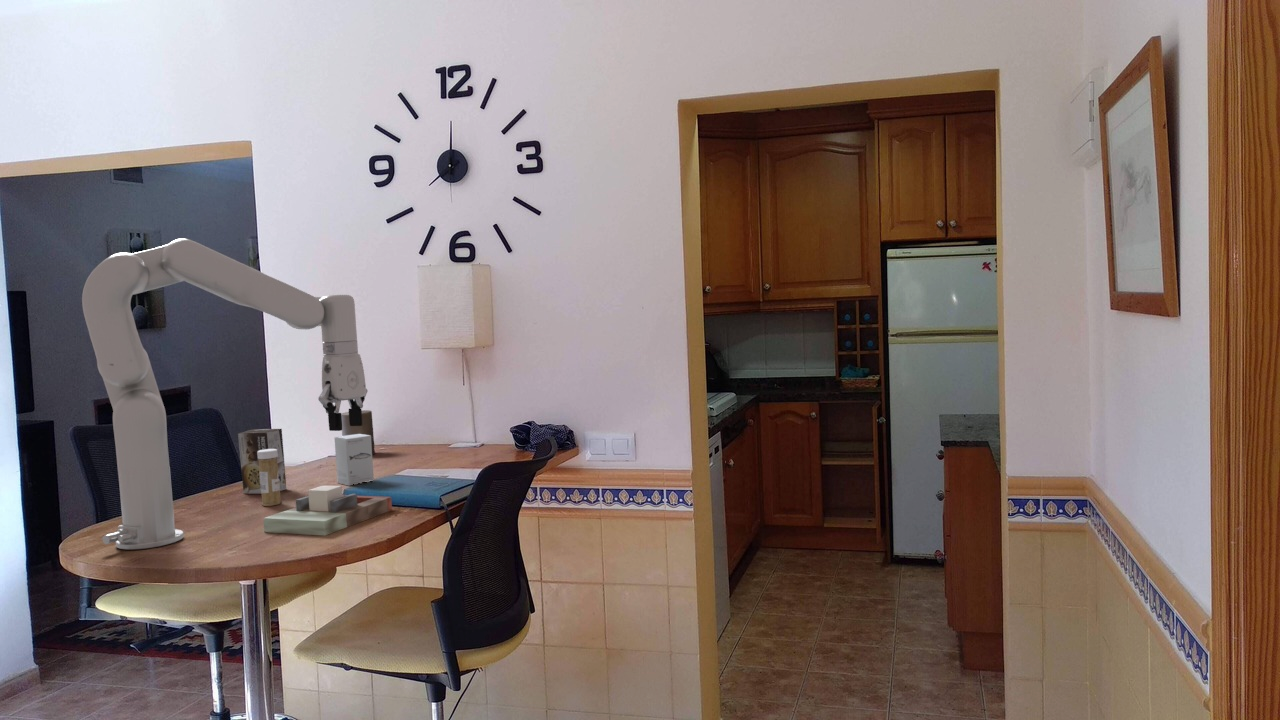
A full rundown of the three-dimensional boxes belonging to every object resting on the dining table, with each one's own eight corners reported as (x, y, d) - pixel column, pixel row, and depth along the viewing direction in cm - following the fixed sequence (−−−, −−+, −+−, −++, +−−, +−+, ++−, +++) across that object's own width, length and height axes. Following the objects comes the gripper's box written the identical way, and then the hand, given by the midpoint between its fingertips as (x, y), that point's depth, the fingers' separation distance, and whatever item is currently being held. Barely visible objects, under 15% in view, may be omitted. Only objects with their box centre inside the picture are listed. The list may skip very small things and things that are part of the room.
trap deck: (325, 535, 196) (323, 509, 195) (264, 531, 201) (262, 506, 201) (391, 509, 217) (390, 486, 217) (335, 507, 223) (333, 484, 222)
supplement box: (348, 486, 248) (345, 438, 247) (336, 483, 254) (333, 436, 253) (374, 481, 253) (371, 435, 252) (362, 478, 258) (359, 432, 258)
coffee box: (287, 489, 249) (283, 428, 247) (272, 494, 242) (267, 432, 241) (258, 488, 251) (253, 428, 250) (241, 493, 245) (237, 432, 244)
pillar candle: (381, 453, 301) (378, 406, 301) (357, 458, 293) (354, 410, 292) (360, 452, 307) (357, 406, 306) (336, 457, 298) (333, 409, 298)
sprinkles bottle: (283, 504, 229) (279, 449, 228) (263, 507, 226) (259, 452, 225) (279, 501, 233) (274, 447, 232) (259, 504, 230) (255, 450, 229)
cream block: (328, 511, 205) (326, 490, 204) (309, 510, 207) (308, 490, 206) (343, 506, 209) (341, 486, 209) (324, 505, 211) (323, 485, 211)
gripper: (328, 352, 204) (334, 434, 205) (377, 346, 220) (383, 422, 221) (300, 352, 207) (306, 434, 208) (351, 347, 223) (356, 422, 224)
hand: (346, 427), depth 215 cm, fingers open, 6 cm apart
